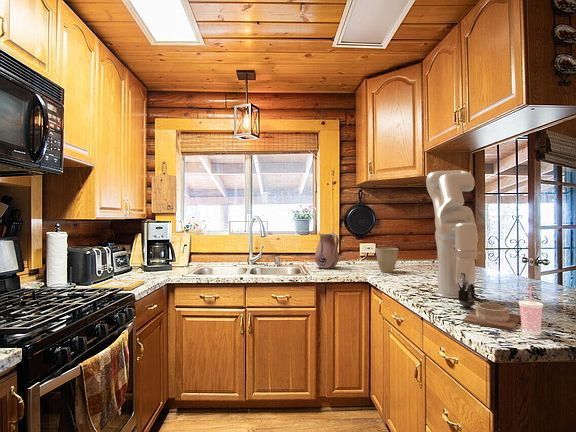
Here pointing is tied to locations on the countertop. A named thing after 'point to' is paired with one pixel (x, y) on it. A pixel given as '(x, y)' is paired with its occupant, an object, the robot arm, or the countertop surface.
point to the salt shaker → (470, 301)
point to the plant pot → (386, 259)
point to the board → (493, 317)
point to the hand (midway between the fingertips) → (466, 298)
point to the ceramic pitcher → (327, 251)
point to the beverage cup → (531, 316)
